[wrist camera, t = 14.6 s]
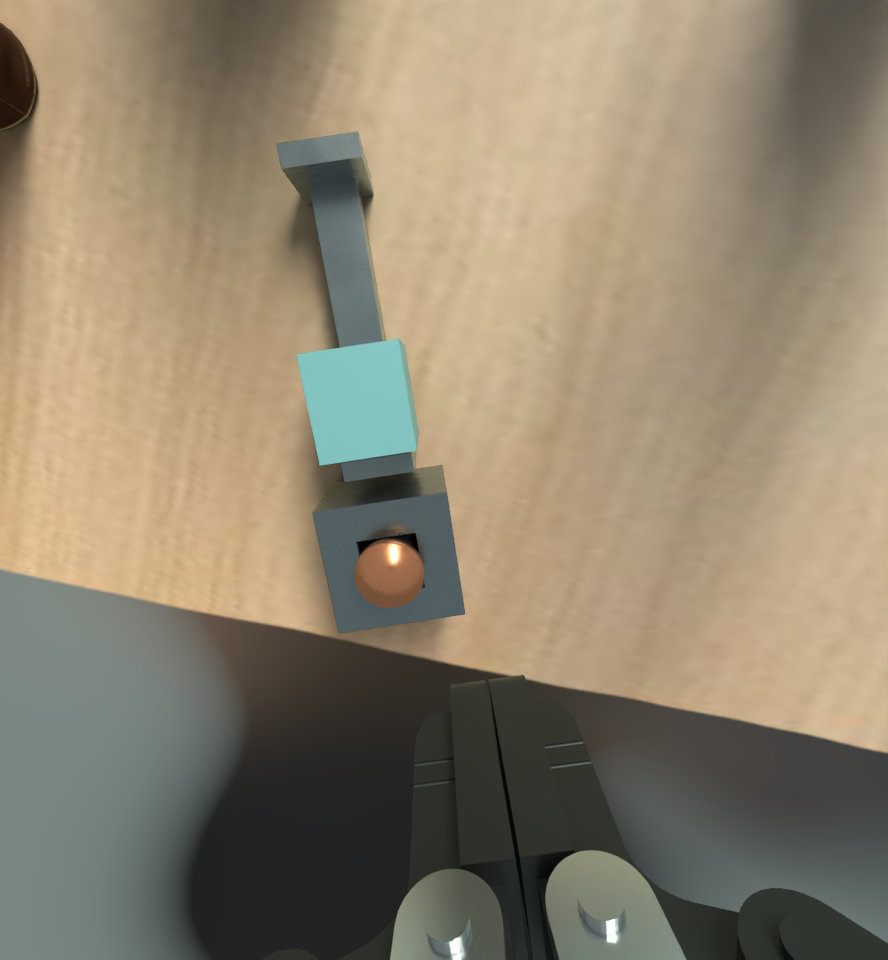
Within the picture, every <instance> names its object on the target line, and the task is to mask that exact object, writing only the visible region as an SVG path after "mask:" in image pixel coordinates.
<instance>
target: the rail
mask: <svg viewBox="0 0 888 960" xmlns="http://www.w3.org/2000/svg"><path fill="white" fill-rule="evenodd" d="M277 149H278V154H279V159H280V164H281V169H282V170H283V172H284V173H285V174H286V176H287V177H288V178H289V180H290V181H291V183H292V184H293V185H294V187H295V188H296V189H297V191H298V192H299V193H300V195H301V196H302V198H303V199H304V200H305V202H306V203H307V204H312V205H313V210H314V215H315V221H316V226H317V231H318V236H319V241H320V247H321V252H322V257H323V262H324V268H325V273H326V278H327V283H328V289H329V294H330V299H331V304H332V310H333V315H334V320H335V325H336V331H337V336H338V341H339V346H340V348H341V347H348V346H355V345H361V344H368V343H374V342H381V341H386V338H385V332H384V326H383V320H382V314H381V308H380V302H379V296H378V291H377V285H376V279H375V273H374V267H373V261H372V255H371V249H370V243H369V237H368V231H367V226H366V220H365V214H364V208H363V202H362V196H367V195H373V188H372V182H371V176H370V172H369V168H368V165H367V161H366V158H365V154H364V151H363V148H362V144H361V141H360V137H359V134H358V132H352V133H345V134H338V135H332V136H325V137H319V138H312V139H305V140H299V141H292V142H286V143H279V144H277ZM415 460H416V451H413V452H406V453H399V454H393V455H386V456H380V457H373V458H367V459H360V460H354V461H347V462H342V463H341V467H342V472H343V477H344V482H349V481H355V480H362V479H368V478H375V477H381V476H388V475H395V474H401V473H408V472H414V470H415Z"/></svg>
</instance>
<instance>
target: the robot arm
mask: <svg viewBox="0 0 888 960" xmlns="http://www.w3.org/2000/svg"><path fill="white" fill-rule="evenodd" d="M488 682H489V690H490V698H491V705H492V713H493V720H494V727H495V735H496V742H497V748H496V742H495V736H494V730H493V724H492V718H491V712H490V706H489V701H488V694H487V688H486V682H485V681H478V682H470V683H463V684H455V685H450V697H451V713H449V714H442V715H434V716H428V717H426V719H425V721H424V723H423V725H422V727H421V729H420V731H419V732H418V734H417V736H416V739H415V760H414V764H415V768H414V789H413V810H412V835H411V860H410V861H411V862H410V879H409V885H408V889H407V893H406V896H405V898H404V901H403V902H402V904H401V906H400V908H399V911H398V913H397V915H396V916H395V917H394V919H393V920H392V922H391V923H390V924H389V925H388V926H387V927H386V928H385V930H384V931H383V932H382V933H381V934H379V935H378V936H377V937H376V938H375V939H373V940H372V941H371V942H369V943H367V944H366V945H364V946H363V947H361V948H359V949H357V950H355V951H353V952H352V953H350V954H348V955H346V956H344V957H342V958H340V959H339V960H528V956H527V948H526V941H525V932H524V925H523V917H522V910H521V902H520V895H519V887H518V879H517V872H518V878H519V884H520V890H521V895H522V902H523V908H524V914H525V920H526V926H527V932H528V938H529V944H530V950H531V956H532V960H888V943H886V942H885V941H883V940H881V939H880V938H878V937H877V936H875V935H874V934H872V933H871V932H869V931H867V930H866V929H864V928H862V927H861V926H859V925H858V924H856V923H855V922H853V921H851V920H850V919H848V918H847V917H845V916H844V915H842V914H841V913H839V912H837V911H836V910H834V909H833V908H831V907H829V906H828V905H826V904H824V903H822V902H821V901H819V900H817V899H815V898H813V897H810V896H807V895H806V894H803V893H800V892H796V891H793V890H788V889H782V888H777V889H776V888H770V889H765V890H761V891H758V892H756V893H754V894H752V895H751V896H750V897H749V898H747V899H746V901H745V902H744V903H743V905H742V906H741V909H740V912H739V913H737V912H734V911H729V910H725V909H720V908H716V907H711V906H707V905H702V904H698V903H694V902H690V901H687V900H683V899H681V898H678V897H676V896H674V895H671V894H670V893H668V892H666V891H664V890H663V889H661V888H659V887H658V886H657V885H655V884H654V883H653V882H651V881H650V880H649V879H648V878H647V877H646V876H645V875H644V874H643V873H642V872H641V871H640V870H639V869H638V868H637V866H636V865H635V864H634V863H633V861H632V860H631V858H630V857H629V855H628V853H627V851H626V850H625V847H624V844H623V842H622V839H621V837H620V834H619V832H618V829H617V827H616V824H615V821H614V819H613V817H612V814H611V811H610V809H609V806H608V804H607V801H606V798H605V796H604V793H603V791H602V788H601V786H600V783H599V781H598V778H597V776H596V773H595V770H594V768H593V765H591V761H590V758H589V755H588V752H587V750H586V747H585V745H584V744H583V740H582V737H581V735H580V732H579V729H578V727H577V724H576V722H575V719H574V717H573V716H572V715H571V714H570V713H569V712H568V711H567V710H566V709H565V708H564V707H563V706H562V705H561V704H560V703H559V702H558V701H557V700H556V699H551V700H544V701H537V702H532V701H531V697H530V694H529V690H528V687H527V683H526V680H525V677H524V675H520V676H513V677H506V678H498V679H491V680H488ZM497 750H498V754H497ZM498 757H499V760H498ZM499 763H500V766H499ZM500 770H501V772H500ZM501 776H502V778H501ZM502 782H503V784H502ZM503 788H504V790H503ZM504 794H505V796H504ZM505 800H506V802H505ZM506 806H507V808H506ZM507 812H508V814H507ZM508 818H509V820H508ZM509 824H510V826H509ZM510 830H511V832H510ZM511 836H512V838H511ZM512 842H513V844H512ZM513 848H514V850H513ZM514 854H515V856H514ZM515 860H516V864H515ZM516 866H517V871H516ZM261 960H319V959H318V958H317V957H315V956H314V955H313V954H311V953H309V952H307V951H304V950H300V949H285V950H282V951H278V952H275V953H273V954H270V955H268V956H266V957H265V958H263V959H261Z"/></svg>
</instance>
